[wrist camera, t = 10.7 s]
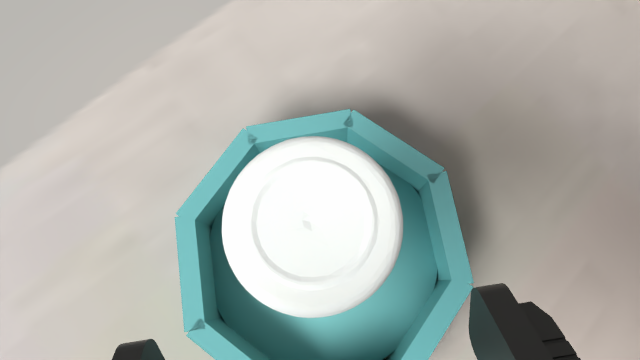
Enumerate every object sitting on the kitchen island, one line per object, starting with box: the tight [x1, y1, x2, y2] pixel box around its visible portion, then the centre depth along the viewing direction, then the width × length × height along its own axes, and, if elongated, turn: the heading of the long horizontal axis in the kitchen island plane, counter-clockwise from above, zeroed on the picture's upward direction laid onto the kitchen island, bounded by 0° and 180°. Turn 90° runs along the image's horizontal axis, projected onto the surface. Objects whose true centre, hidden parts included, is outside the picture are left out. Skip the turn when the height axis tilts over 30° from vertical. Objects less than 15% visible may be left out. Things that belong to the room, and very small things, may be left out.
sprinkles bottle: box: [222, 136, 403, 318], centre depth 17 cm, size 5×5×13 cm
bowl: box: [175, 109, 474, 360], centre depth 23 cm, size 14×14×3 cm
